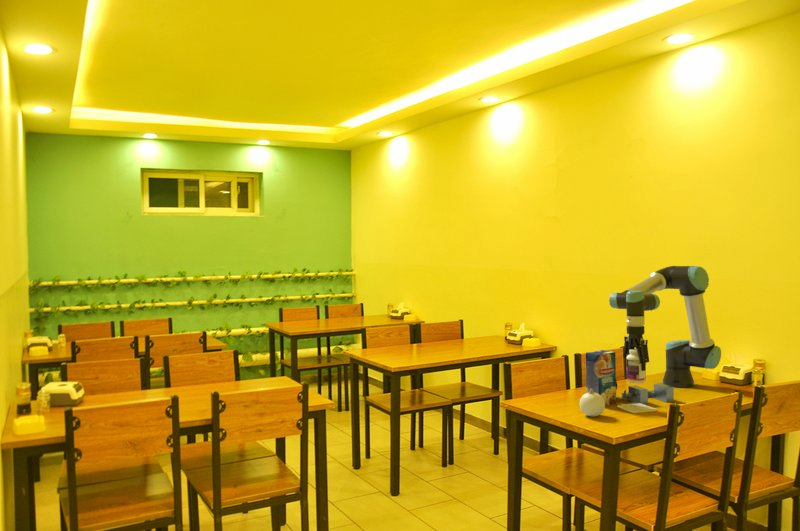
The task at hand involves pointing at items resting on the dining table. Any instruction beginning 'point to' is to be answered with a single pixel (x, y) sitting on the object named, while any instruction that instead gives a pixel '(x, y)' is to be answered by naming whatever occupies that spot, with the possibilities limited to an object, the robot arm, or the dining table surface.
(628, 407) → the trivet
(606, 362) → the cereal box
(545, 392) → the dining table surface
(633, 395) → the vise
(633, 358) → the pill bottle
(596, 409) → the ornament
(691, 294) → the robot arm
